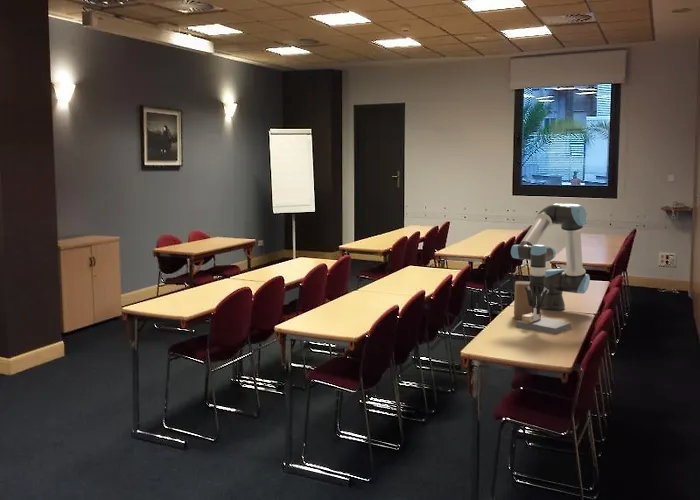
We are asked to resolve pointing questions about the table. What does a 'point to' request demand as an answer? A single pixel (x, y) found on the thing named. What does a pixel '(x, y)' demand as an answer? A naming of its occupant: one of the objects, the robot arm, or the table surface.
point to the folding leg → (529, 318)
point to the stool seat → (545, 325)
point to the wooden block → (521, 299)
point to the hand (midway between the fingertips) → (535, 320)
